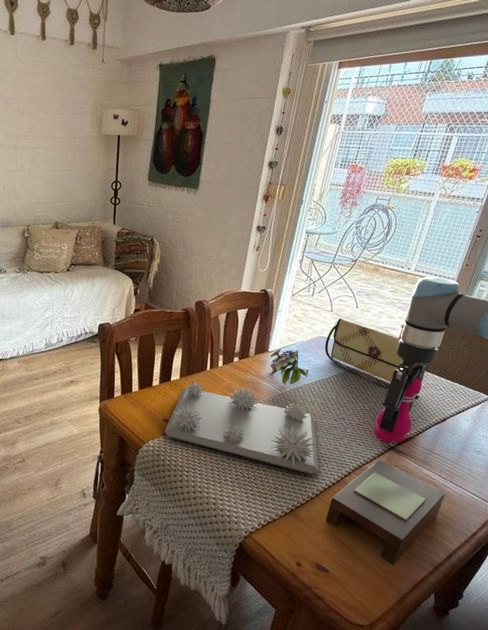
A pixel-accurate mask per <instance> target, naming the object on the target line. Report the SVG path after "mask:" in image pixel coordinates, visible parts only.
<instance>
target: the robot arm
mask: <svg viewBox="0 0 488 630" xmlns="http://www.w3.org/2000/svg"><path fill="white" fill-rule="evenodd" d="M405 317H406V318H405V320H404V323H402V324H401V325H400V328H401V329H402V330H401V334H400V338H399V339H400V340H399V343H398V346H397V349H396V354H397V355H398V356H399V357H401V358H402V359H403V362H402V363H400V364H399V366H398V370H394V372H393V377H392V381H391V382H390V384H389V386H388V387H389V388H387V389H388V390H387V392H386V394H385V398H384V401H383V402H382V403H381V405H382V407H383V408H385V411H384V414H383V418H382V421H381V424H380V428H382V429H384V430H386V431H389V432H391V433H392V432H393V430H394V427H395V424H396V421H397V418H398V414H399V411H400V409H399V407H400V404H401V402H402V400H403V398H404V395H405V393H406V391H407V388H408V386H409V385H412V384H413V382H414V380H415V377H418V378H419V379H420V381H421V385H423V384H422V383H423V380H424V376H425V373H426V371H425V369H426V367H427V364H428V365H430V364H432V363H434V362H435V361H436V358H437V355H438V352H439V347H440V346H441V344H442V341H443V338H444V334H445V331H446V329H447V327H448V328H453V329H455V330H459V331H461V332H465V333H468V334H471V335H474V336H478V337H481V338H484V339H486V340H488V298H486V299H485V298H480V297H476V296H471V295H467V294H464V293H462V292H460V284H459V282H457V281H454V280H452V279H448V278H443V277H433V276H431V277H430V276H429V277H422V278H420V279H419V280H418V281H417V283H416V285H415V288H414V290H413V292H412V294H411V300H410V304H409V307H408V310H407V314H406V316H405ZM427 368H428V367H427ZM426 370H427V369H426ZM406 379H407V380H410V381H406ZM419 394H420V391H419V392H418V393H416V394H415V395H416V397H415V398H414V399H415V401H418V400H419V399H420V395H419ZM413 403H414V401H413V402H411V403H410V406H409V414H410V412H411V410H412V406H413Z"/></svg>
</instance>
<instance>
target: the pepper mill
mask: <svg viewBox="0 0 488 630" xmlns="http://www.w3.org/2000/svg"><path fill="white" fill-rule="evenodd" d="M391 381H392V379H391ZM406 381H410V380H407V379H406ZM421 390H422V384H421V381H420V379H419V378H418V377H415V380H414V382H413V384H412V385H409V386H408V388H407V391H406V393H405V395H404V398H403V400H402V402H401V404H400V407H399V409H400V411H399V414H398V418H397V421H396V424H395V427H394V430H393V432H392V433H391V432H389V431H386V430H384V429H382V428H380V424H381V421H382V418H383V414H384V411H385V408H386V407H383V409H382V410H381V411H380V412H379V413H378V415H377V417H376V420H375V421H376V422H375V423H376V424H377V426H376V427H375V430H374V436H375V437H376V436H377V437H378V438H379V439H378V438H377V437H376V438H377V439H378V440H380V439H381V440H382V442H383V441H384V443H386V442H387V443H386V444H391V443H392V442H397V443H398V442H399V443H401V442H404V441H405V440H406V437H407V435H408V434H409V433H410V432H411V431H412V424H413V423H412V419H411V414H410V413H409V406H410V403H411V402H413V403H414V401H416V399H414V398H415V397H416V395H417V394H416V393H418V392H419V393H420V391H421ZM415 394H416V395H415ZM381 440H380V441H381Z"/></svg>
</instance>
